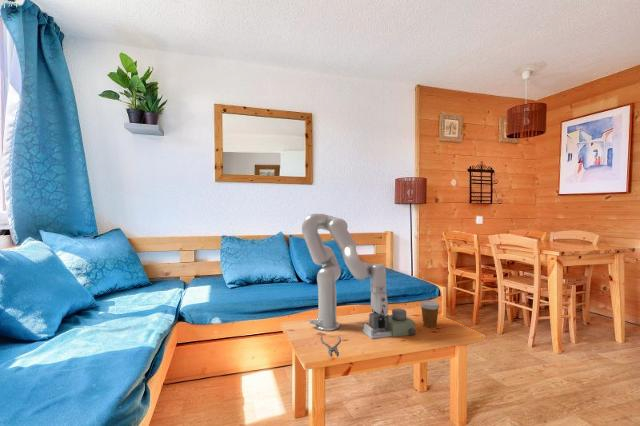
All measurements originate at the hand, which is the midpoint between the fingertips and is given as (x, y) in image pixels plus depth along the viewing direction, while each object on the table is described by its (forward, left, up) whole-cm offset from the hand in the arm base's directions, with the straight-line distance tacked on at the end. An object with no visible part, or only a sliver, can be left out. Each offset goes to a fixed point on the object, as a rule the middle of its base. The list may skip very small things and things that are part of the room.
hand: (378, 325), depth 148 cm
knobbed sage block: (+5, 0, -4) cm, 6 cm away
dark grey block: (0, 0, -1) cm, 1 cm away
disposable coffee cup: (+30, +1, -4) cm, 31 cm away
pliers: (-25, -6, -5) cm, 26 cm away
